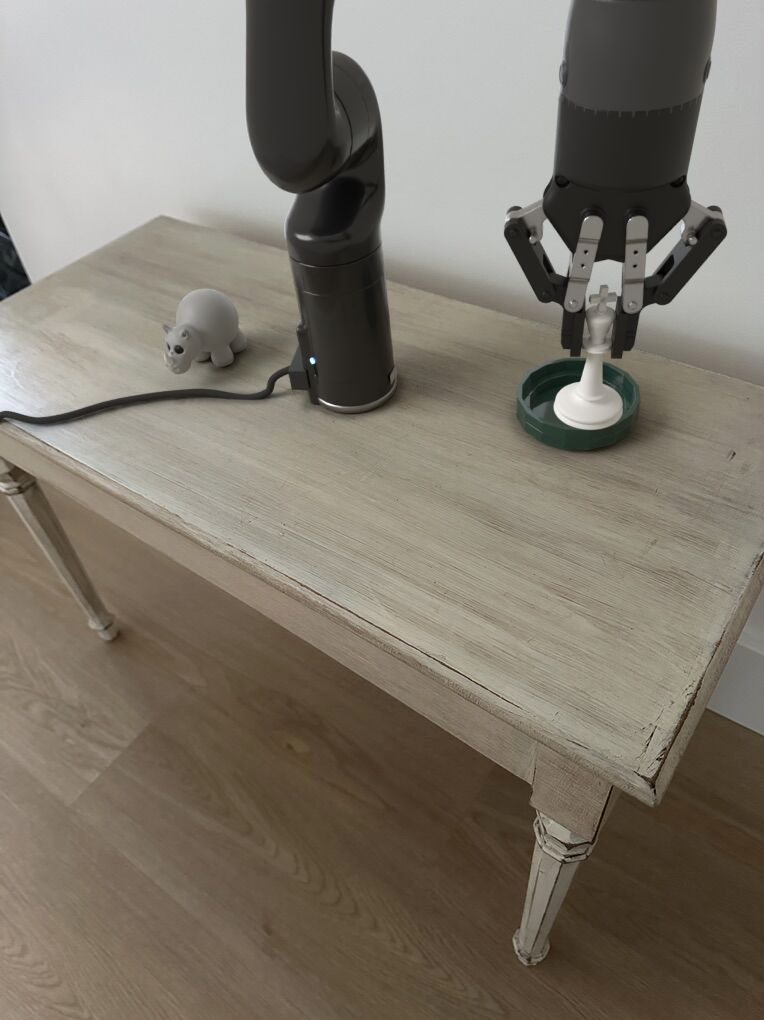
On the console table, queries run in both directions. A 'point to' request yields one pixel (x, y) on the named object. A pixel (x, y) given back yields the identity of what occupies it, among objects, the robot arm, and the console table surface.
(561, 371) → the dish
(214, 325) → the chubby cartoon animal
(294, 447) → the console table surface
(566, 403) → the chess piece
